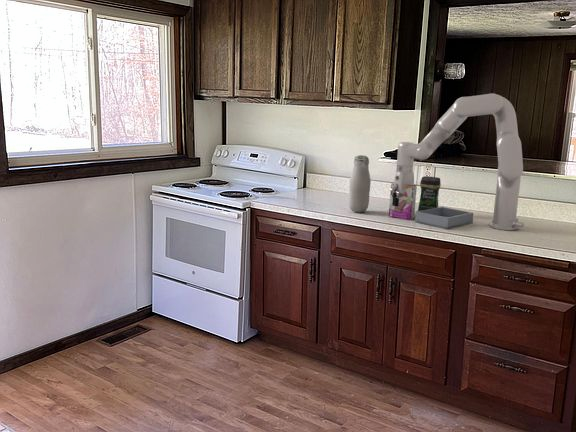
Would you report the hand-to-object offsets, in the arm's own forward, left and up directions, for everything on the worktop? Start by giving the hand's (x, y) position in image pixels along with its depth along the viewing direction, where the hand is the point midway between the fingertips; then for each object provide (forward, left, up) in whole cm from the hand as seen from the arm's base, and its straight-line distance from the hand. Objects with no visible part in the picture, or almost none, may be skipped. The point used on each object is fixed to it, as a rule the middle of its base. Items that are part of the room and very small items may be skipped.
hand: (401, 205), depth 260 cm
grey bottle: (+21, +7, -6) cm, 23 cm away
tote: (-18, -8, -6) cm, 21 cm away
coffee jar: (-2, -18, -6) cm, 19 cm away
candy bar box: (0, 0, -7) cm, 7 cm away
